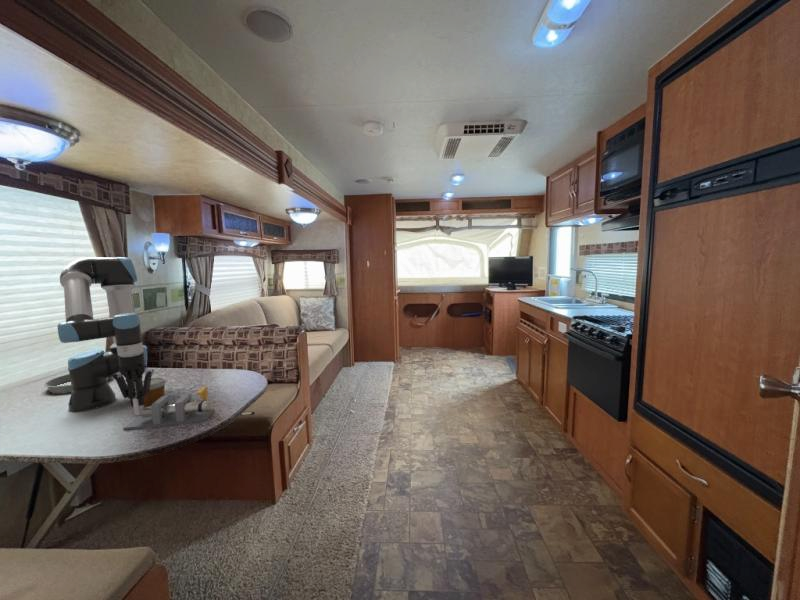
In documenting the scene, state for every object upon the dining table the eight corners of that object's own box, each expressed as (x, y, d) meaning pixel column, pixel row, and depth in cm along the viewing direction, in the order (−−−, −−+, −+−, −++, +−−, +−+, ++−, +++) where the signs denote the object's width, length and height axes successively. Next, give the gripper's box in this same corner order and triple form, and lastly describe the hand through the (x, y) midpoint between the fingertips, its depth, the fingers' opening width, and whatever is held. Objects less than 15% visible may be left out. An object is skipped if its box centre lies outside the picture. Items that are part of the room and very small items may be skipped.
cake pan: (101, 389, 160) (100, 380, 160) (33, 399, 150) (31, 390, 150) (119, 373, 183) (118, 366, 182) (61, 381, 172) (59, 373, 172)
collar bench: (123, 430, 120) (119, 402, 119) (137, 418, 129) (134, 392, 128) (205, 421, 126) (203, 394, 124) (214, 410, 135) (211, 385, 133)
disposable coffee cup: (152, 403, 143) (149, 377, 141) (173, 403, 142) (170, 377, 141) (134, 414, 133) (130, 386, 132) (157, 413, 133) (153, 386, 131)
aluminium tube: (141, 420, 123) (140, 409, 123) (147, 414, 127) (146, 404, 127) (204, 413, 128) (203, 403, 127) (208, 408, 132) (207, 398, 131)
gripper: (104, 358, 117) (113, 420, 120) (145, 356, 120) (152, 416, 123) (117, 352, 124) (125, 410, 127) (155, 350, 127) (162, 407, 130)
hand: (138, 413), depth 125 cm, fingers closed
